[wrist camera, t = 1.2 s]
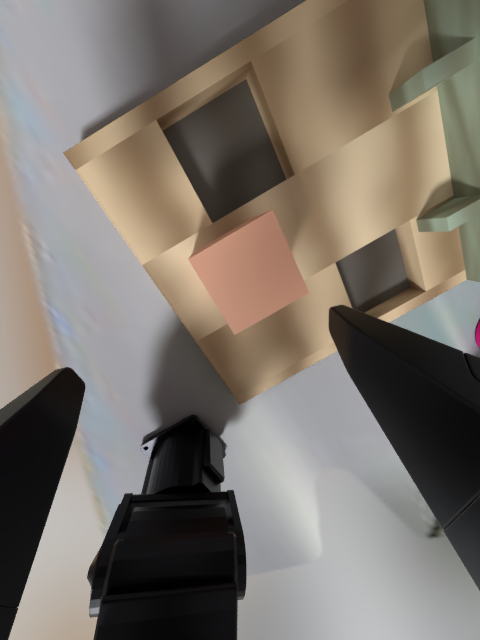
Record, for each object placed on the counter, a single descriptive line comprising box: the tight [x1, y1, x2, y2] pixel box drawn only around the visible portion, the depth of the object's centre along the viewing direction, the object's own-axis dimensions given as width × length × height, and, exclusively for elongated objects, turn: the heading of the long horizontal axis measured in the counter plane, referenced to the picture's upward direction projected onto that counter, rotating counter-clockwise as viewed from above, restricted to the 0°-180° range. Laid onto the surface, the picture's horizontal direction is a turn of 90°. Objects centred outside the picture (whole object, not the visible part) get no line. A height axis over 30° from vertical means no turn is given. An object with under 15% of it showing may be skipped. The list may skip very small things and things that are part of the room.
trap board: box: [64, 0, 480, 404], centre depth 17 cm, size 24×22×5 cm
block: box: [188, 210, 309, 335], centre depth 15 cm, size 5×5×5 cm
